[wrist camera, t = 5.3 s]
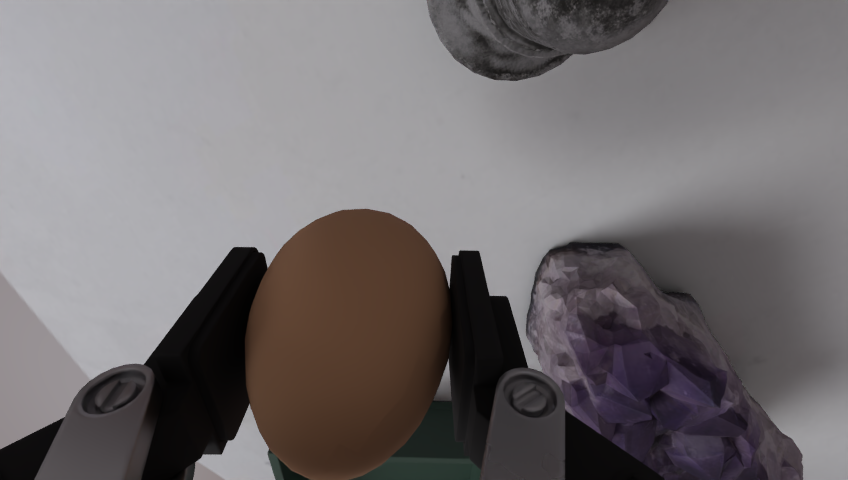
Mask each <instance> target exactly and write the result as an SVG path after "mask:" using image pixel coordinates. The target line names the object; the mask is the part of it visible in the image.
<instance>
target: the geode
mask: <svg viewBox="0 0 848 480" xmlns="http://www.w3.org/2000/svg"><path fill="white" fill-rule="evenodd" d="M526 336H527V338H528V340H529V341H530V343H531V344H532V347H533V350H534V352H535V353H536V354H537V355H538V360H539V362H540V365H541V367H542V370H543V373H544V374H546V375H547V376H549V377H550V378H552V379H553V380H554V381H555V383H556V384H557V385H558V386H559V387H560V389H561V391H562V393H563V395H564V400H565V410H566V411H567V412H569V413H570V414H572V415H573V416H575V417H576V418H578V419H579V420H580V421H582V422H583V423H585V424H586V425H588V426H589V427H591V428H592V429H594V430H595V431H596V432H598V433H599V434H601V435H602V436H604V437H605V438H607V439H608V440H610V441H611V442H613V443H614V444H615V445H617V446H618V447H620V448H621V449H623V450H624V451H626V452H627V453H629V454H630V455H632V456H633V457H634V458H636V459H637V460H639V461H640V462H642V463H643V464H645V465H646V466H648V467H649V468H651V469H652V470H653V471H655V472H656V473H658V474H659V475H660V476H661V477H663V478H664V479H665V480H803V465H802V463H801V462H802V454H801V452H800V450H799V449H798V447H797V446H796V444H795V443H794V441H793V440H792V439H791V438H790V437H788V436H786V435H784V434H783V433H782V432H781V431H780V430H779V429H778V428H777V427H776V425H775V424H774V423H773V422H772V421H771V420H770V418H769V416H768V415H767V413H766V412H765V411H764V410H763V408H762V407H761V406H760V405H759V404H758V403H757V402H756V401H755V400H754V399H753V398H752V397H751V396H750V395H749V393H748V392H747V390H746V388H745V387H743V386H742V381H741V380H740V378H739V377H738V376H737V375H736V373H735V371H734V369H733V367H732V365H731V363H730V361H729V358H728V357H727V355H726V353H725V352H724V351H723V349H722V348H721V346H720V345H719V344H718V342H717V341H716V339H715V338H714V336H713V335H712V333H711V332H710V330H709V327H708V325H707V324H706V322H705V320H704V316H703V314H702V311H701V309H700V307H699V304H698V303H697V302H696V301H695V300H694V299H693V297H692V296H691V295H690V294H687V293H676V292H671V293H667V294H665V293H664V292H662V291H661V290H659V289H658V288H657V287H656V286H655V284H654V283H653V281H652V280H651V278H650V277H649V276H648V274H647V273H646V271H645V270H644V268H643V267H642V266H641V265H640V264H639V262H638V261H637V260H636V259H635V258H634V257H633V255H632V254H631V253H630V252H629V251H628V250H627V249H625V248H624V247H622V246H621V245H620V244H606V243H569V244H568V245H567V246H566V247H562V248H557V249H552V250H550V251H549V252H548V253H547V254H546V255H545V257H544V258H543V259H542V261H541V264H540V266H539V268H538V270H537V272H536V274H535V281H534V285H533V289H532V293H531V304H530V307H529V310H528V314H527V324H526Z"/></svg>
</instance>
